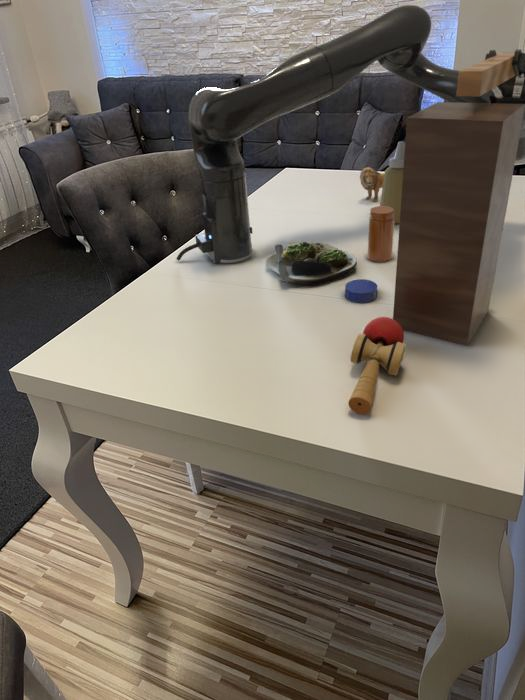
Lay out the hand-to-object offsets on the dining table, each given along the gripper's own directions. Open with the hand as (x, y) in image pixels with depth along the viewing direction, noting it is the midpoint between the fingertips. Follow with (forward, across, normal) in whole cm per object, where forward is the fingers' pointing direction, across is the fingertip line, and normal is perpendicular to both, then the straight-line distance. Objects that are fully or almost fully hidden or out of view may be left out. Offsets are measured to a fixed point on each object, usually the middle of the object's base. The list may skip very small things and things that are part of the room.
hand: (503, 56), depth 79 cm
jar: (-22, +19, -30) cm, 42 cm away
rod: (+3, 0, -5) cm, 6 cm away
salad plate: (-12, +30, -36) cm, 48 cm away
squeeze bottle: (-41, +25, -19) cm, 51 cm away
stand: (-5, 0, -40) cm, 40 cm away
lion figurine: (-53, +34, -12) cm, 64 cm away
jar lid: (-6, +15, -37) cm, 41 cm away
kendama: (+13, +3, -50) cm, 51 cm away
